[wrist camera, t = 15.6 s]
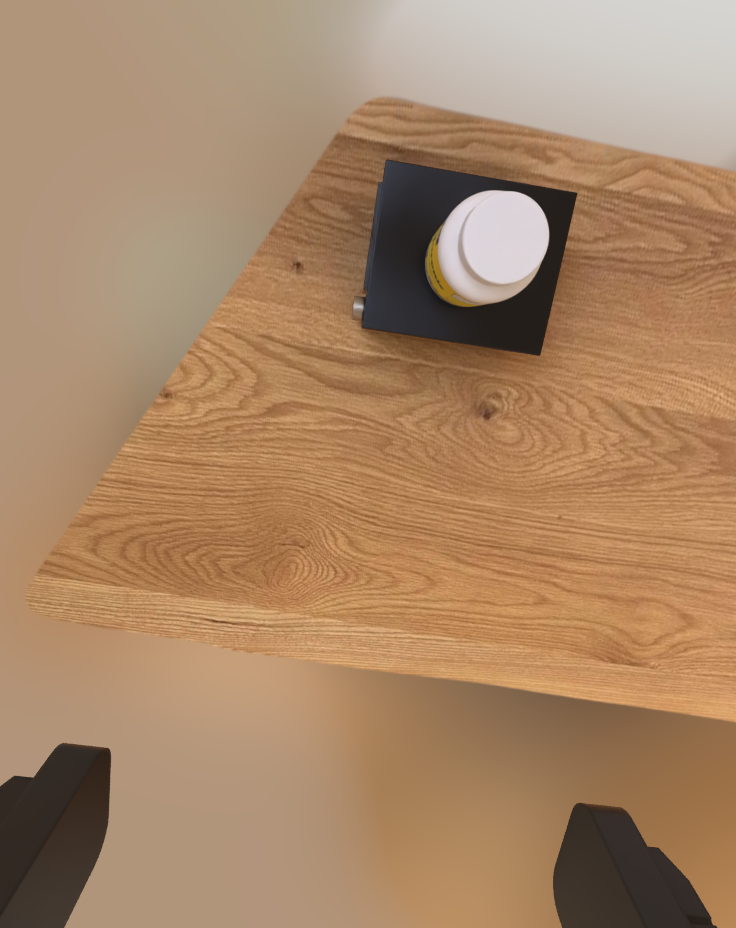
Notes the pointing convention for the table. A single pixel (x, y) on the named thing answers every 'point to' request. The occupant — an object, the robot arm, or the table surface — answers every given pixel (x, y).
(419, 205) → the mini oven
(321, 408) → the table surface
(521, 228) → the supplement bottle
